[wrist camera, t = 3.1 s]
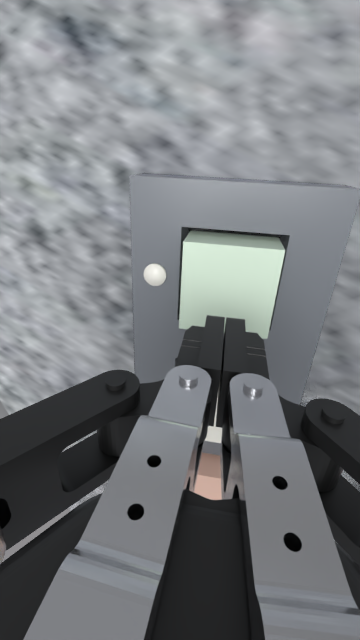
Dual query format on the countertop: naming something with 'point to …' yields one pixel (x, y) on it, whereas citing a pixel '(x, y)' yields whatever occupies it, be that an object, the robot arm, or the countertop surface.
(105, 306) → the countertop surface
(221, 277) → the sage key
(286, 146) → the countertop surface
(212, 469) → the rose key
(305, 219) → the keypad
